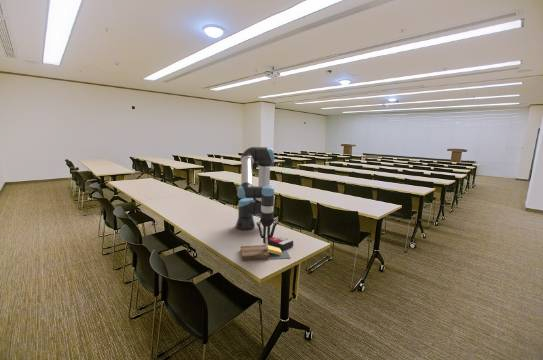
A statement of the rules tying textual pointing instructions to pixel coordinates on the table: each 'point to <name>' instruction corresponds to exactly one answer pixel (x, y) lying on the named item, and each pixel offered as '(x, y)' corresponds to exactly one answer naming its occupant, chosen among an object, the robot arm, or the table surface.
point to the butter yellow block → (274, 250)
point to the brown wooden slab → (254, 253)
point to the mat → (282, 256)
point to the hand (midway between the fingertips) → (266, 248)
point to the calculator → (280, 242)
